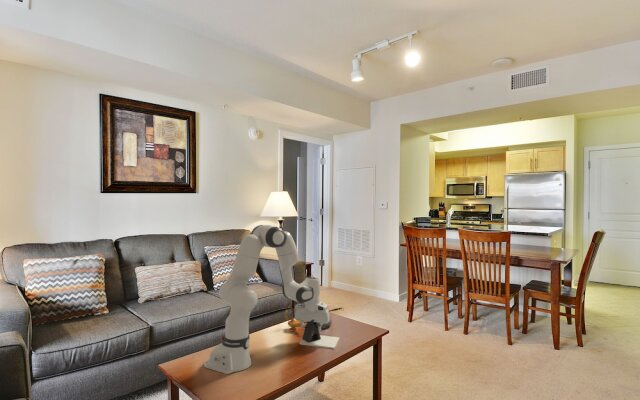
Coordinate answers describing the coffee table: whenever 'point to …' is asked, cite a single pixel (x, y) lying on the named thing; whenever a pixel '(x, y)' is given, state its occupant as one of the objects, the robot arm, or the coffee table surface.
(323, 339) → the mat
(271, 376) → the coffee table surface
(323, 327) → the coffee pot
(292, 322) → the magic lamp
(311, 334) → the phone stand
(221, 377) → the coffee table surface
